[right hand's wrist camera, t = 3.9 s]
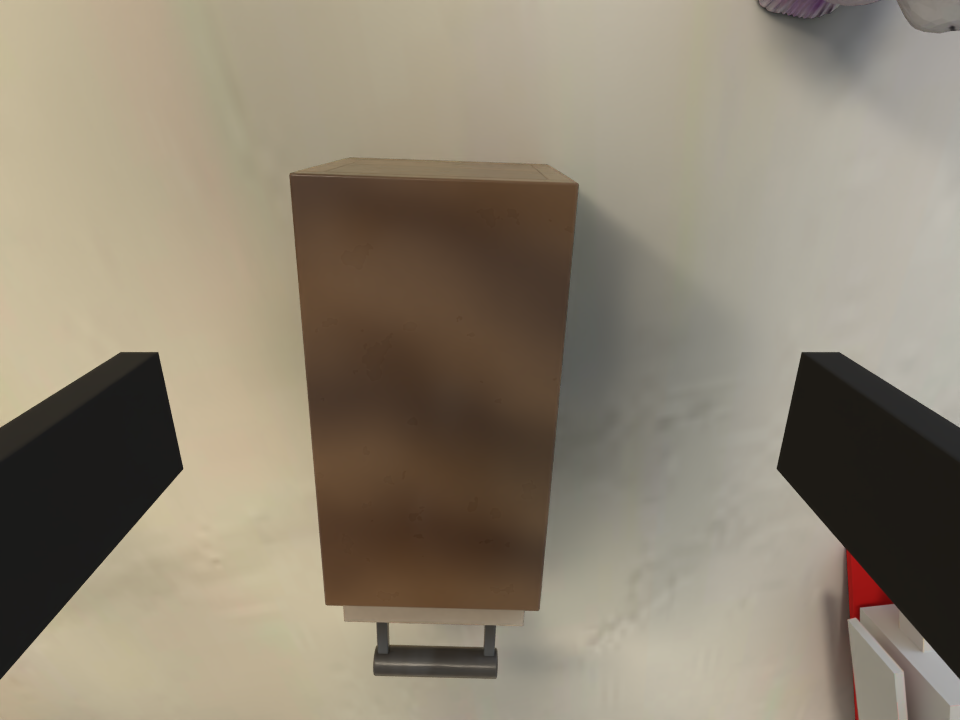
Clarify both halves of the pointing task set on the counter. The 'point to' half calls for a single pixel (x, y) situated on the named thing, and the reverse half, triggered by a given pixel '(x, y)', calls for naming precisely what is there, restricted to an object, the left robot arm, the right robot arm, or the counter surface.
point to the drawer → (434, 657)
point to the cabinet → (433, 374)
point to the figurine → (925, 3)
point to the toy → (894, 660)
